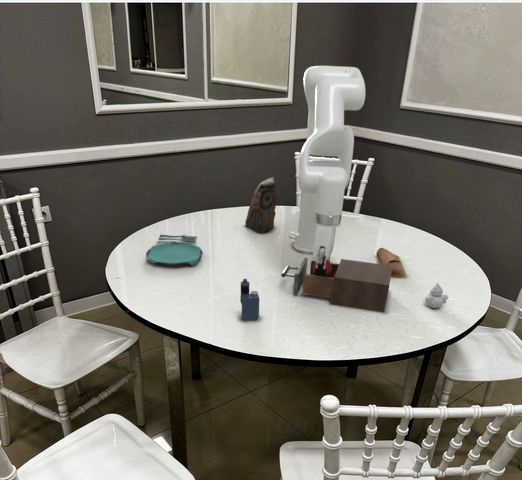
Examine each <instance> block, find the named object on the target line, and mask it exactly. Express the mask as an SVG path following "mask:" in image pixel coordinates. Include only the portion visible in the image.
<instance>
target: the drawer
mask: <svg viewBox="0 0 522 480" xmlns="http://www.w3.org/2000/svg"><path fill="white" fill-rule="evenodd" d="M308 261H309V258H308V257H305V256H304V257H303V259H302V261H301V262H300V264H299V266H298V267H297V266H292V265H290V264H287V265H286V266H285V268H284V269H283V270H282V272H281V274H280V277H281V278H286V277H287V278H294V281H293V291H292V294H293V295H295V296H298V294H299V292H300V290H301V289H302V290H301V291H302V292H301V293H302V294H303V295H308V296H315V297H320V298H321V297H322V298H328V299H331V298H332V290H333V282H334V276H335V274H336V271H337V269H338V266H339V264H340V263H336V262H330V263H331V265H332V272H331V274H330V275H329V276H328V277H324V276H317V275H315V274H314V273H313V266H314V263H315V262H316V261H317V260H314V259H311V262H310V269H309V273H307V270H308ZM290 270H296V271H295V272H294V274H291V273H289V271H290Z"/></svg>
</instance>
